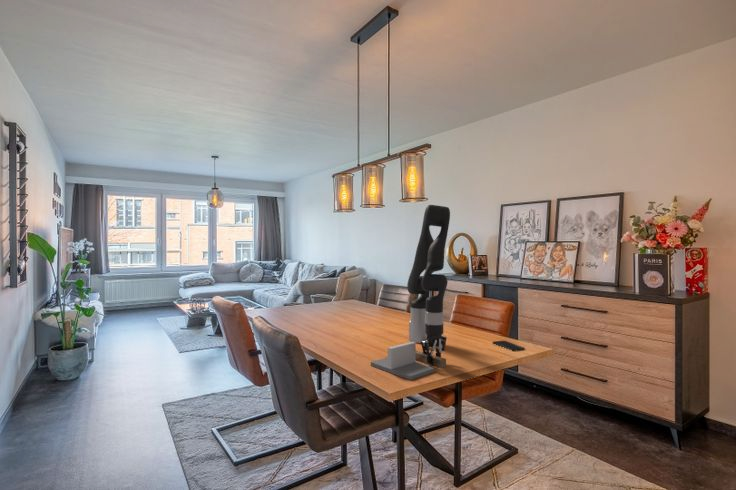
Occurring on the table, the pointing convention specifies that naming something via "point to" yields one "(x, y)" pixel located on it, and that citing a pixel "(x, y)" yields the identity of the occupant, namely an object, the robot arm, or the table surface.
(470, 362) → the table surface
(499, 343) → the phone
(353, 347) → the table surface
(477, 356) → the table surface
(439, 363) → the walnut bar
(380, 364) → the stand
